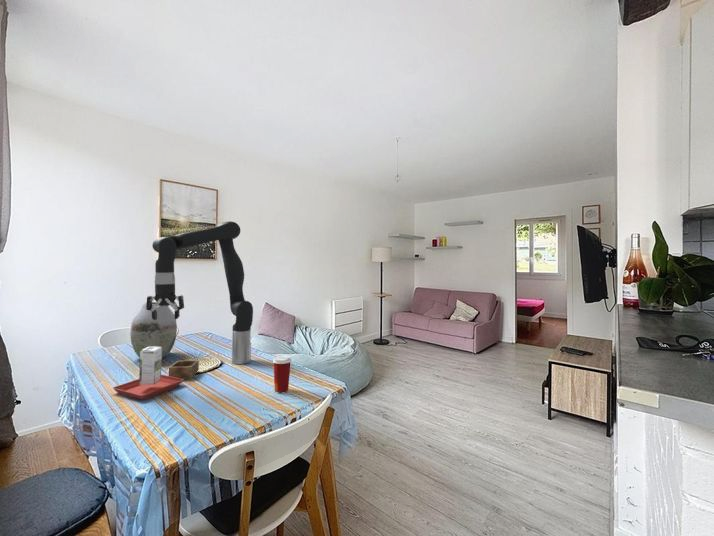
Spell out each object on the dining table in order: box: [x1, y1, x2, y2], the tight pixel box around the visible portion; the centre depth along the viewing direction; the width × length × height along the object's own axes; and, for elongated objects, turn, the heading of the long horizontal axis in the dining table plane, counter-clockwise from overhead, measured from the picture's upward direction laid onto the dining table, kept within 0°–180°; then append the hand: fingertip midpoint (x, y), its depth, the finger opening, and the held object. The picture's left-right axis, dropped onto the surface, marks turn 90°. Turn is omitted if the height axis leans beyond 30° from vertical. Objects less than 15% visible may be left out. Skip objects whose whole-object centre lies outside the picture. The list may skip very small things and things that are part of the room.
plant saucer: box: [112, 374, 184, 401], centre depth 127 cm, size 18×18×3 cm
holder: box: [168, 359, 200, 380], centre depth 143 cm, size 10×10×6 cm
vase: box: [129, 301, 178, 360], centre depth 168 cm, size 21×21×30 cm
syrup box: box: [138, 346, 162, 385], centre depth 127 cm, size 6×6×14 cm
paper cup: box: [272, 354, 292, 394], centre depth 130 cm, size 8×8×14 cm
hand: (165, 319), depth 135 cm, fingers open, 8 cm apart
